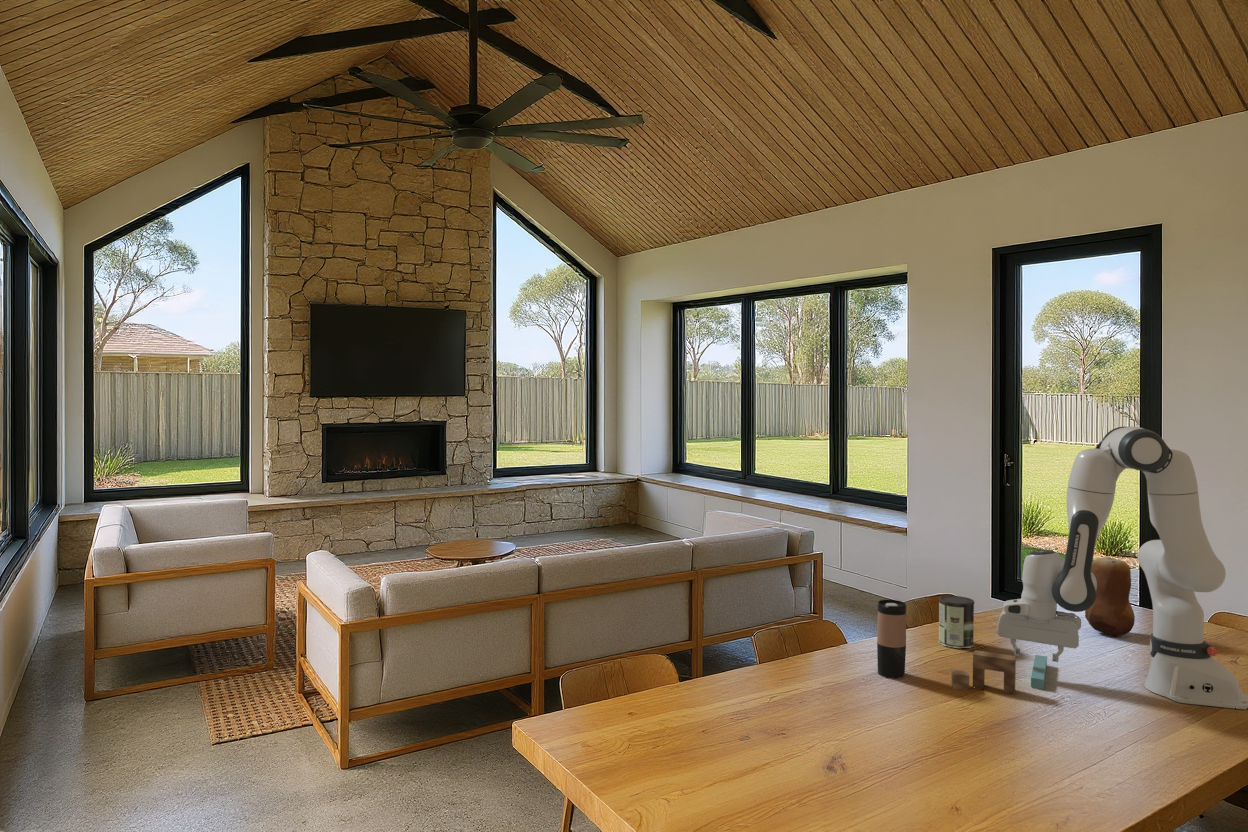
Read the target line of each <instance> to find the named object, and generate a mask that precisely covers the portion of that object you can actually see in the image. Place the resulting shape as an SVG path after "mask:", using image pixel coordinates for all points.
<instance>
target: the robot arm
mask: <svg viewBox="0 0 1248 832" xmlns="http://www.w3.org/2000/svg"><path fill="white" fill-rule="evenodd" d="M1127 469H1128V470H1129V469H1130V470H1135V471H1140V472H1142V473H1143V474H1144V476H1145V481H1146V489H1147V491H1146V492H1147V502H1148V512H1149V520H1150V523H1151V525H1152V527H1153V528H1154V529H1155V531H1156V533H1157V534H1158V537H1159V539H1151V540H1149V541H1146V542H1145V543H1143V544H1142V545H1141V546H1140V548H1139V549H1138V551H1137V556H1136V557H1137V563H1138V564H1139V566H1140V568H1141V569H1142V571H1143V573H1144V576H1145V579H1146V581H1147V582H1146V583H1147V587H1148V589H1149V594H1150V599H1151V603H1152V633H1151V634H1150V639H1149V654H1150V662H1149V669H1148V673H1147V676H1146V680H1145V681H1144V684H1143V686H1144V688H1146V689H1147V690H1148V691H1150V692H1152V693H1154V694H1157V695H1159V696H1161V697H1162V696H1163V697H1164V698H1168V699H1170V700H1171V701H1174V702H1176V703H1181V704H1190V705H1198V706H1209V707H1217V708H1226V709H1235V708H1236V709H1237V710H1248V709H1247V708H1248V695H1247V694H1246V693H1245V692H1243V691H1241V690H1240V686H1239V682H1238V678H1237V677H1236V675H1235V674H1234V673H1233V672H1232V671H1231V670H1230V669H1228V668H1227V667H1226V666H1225V665H1223V664H1222V663H1221V662H1220V661H1218V660H1217V659H1216V658H1215V657H1216V656H1217V655H1218V650H1217V649H1216V648H1215V647H1214V646H1213V645H1212V644H1210V643H1209V642H1208V641H1206V640H1204V632H1205V631H1204V630H1205V627H1204V625H1205V613H1204V610H1203V607H1202V606H1201V604H1200V603H1199V601H1198V599H1197V596H1196V594H1195V593H1211V592H1214V591H1216V590H1219V588H1220V587H1222V585H1223V584H1224V581H1225V579H1226V575H1227V573H1226V568H1225V566H1224V564H1223V562H1222V561H1221V560H1220V558H1218V556H1217V555H1216V553H1215V552H1214V550H1213V548H1212V546H1211V543H1210V541H1209V539H1208V535H1207V533H1206V530H1205V528H1204V525H1203V520H1202V515H1201V513H1202V512H1201V507H1200V498H1199V497H1200V495H1199V489H1198V488H1199V486H1198V481H1197V476H1196V472H1195V468H1194V464H1193V461H1192V459H1191V457H1190V456H1189V455H1188V454H1187V453H1186V452H1184V451H1181V450H1180V449H1174V448H1173V449H1171V448H1170V447H1169V446H1168V445H1167V444H1166V442H1165V440H1164V439H1163V438H1162V437H1161V436H1160V435H1159V434H1158V433H1156V432H1155V431H1153V430H1150V429H1146V428H1144V427H1140V426H1118V427H1115V428H1113V429H1111V430H1109V431H1108V432H1107V433H1106V434H1105V435H1104V437H1103V438H1102V439H1101V441H1100V442H1099V443H1098V444H1097V445H1096V446H1095V448H1087V449H1083V450H1081V451H1080V452H1078V453H1077V455H1076V456H1075V458H1074V461H1073V464H1072V468H1071V470H1070V474H1069V478H1068V483H1067V489H1066V490H1067V491H1066V514H1067V523H1068V538H1067V545H1066V550H1065V557H1062V556H1061V555H1060V554H1058V553H1057V551H1055V550H1049V549H1040V550H1033V551H1031V552H1029V553H1028V554H1026V555H1025V557H1024V562H1023V567H1022V573H1021V574H1022V575H1021V579H1022V580H1021V581H1022V586H1023V587H1022V592H1021V595H1020V597H1021V598H1017V599H1016V598H1015V599H1009V600H1005V601H1004V603H1003V606H1002V608H1003V610H1002V611H1001V613H1000V615H999V618H998V623H997V629H996V633H997V635H998V636H999V638H1007V639H1010V644H1011V646H1012V648H1013V656H1021V648H1020V647H1018V646H1017V640H1018V641H1024V642H1025V641H1026V642H1030V643H1037V644H1044V645H1049V646H1056V647H1057V652H1056V653H1052V657H1051V659H1052V662H1056V663H1059V657H1060V655H1062V653H1063V652H1064V651H1065V650H1064V648H1069V649H1075V650H1076V649H1077V648H1078V647H1079V645H1080V639H1079V637H1080V636H1079V630H1080V629H1081V628H1082V619H1081V617H1080V616H1078V615H1077V614H1076V613H1081V612H1085V610H1087V609H1089V608H1090V607H1091V606H1092V605H1093V604H1094V602H1095V599H1096V590H1097V579H1096V577H1095V575H1094V574H1093V573H1092V572H1091V569H1092V562H1093V561H1094V556H1095V551H1096V550H1095V549H1096V544H1097V540H1098V538H1099V535H1100V532H1101V531H1102V529H1103V527H1104V525H1105V524H1106V522H1107V520H1108V518H1109V516H1110V513H1111V510H1112V507H1113V504H1114V500H1115V495H1116V487H1117V481H1118V479H1119V477H1120V475H1121V474H1122V472H1123V471H1125V470H1127ZM1058 606H1059V607H1060V608H1062V609H1064V610H1066V611H1069V612H1065V611H1059V610H1057V608H1058ZM1073 612H1074V613H1073Z"/></svg>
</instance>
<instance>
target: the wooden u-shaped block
mask: <svg viewBox="0 0 1248 832" xmlns="http://www.w3.org/2000/svg"><path fill="white" fill-rule="evenodd" d="M1016 659H1017V655H1010V654H1003V653H996V652H992V651H991V652H989V651H982V650H977V649H975V650H974V651H973V654H972V688H973V687H975V688H974V689H977V688H979V689H978V690H984V687H985V675H986V674H985V670H986V671H987V670H988V671H994V672H1001V673H1003V694H1007V693H1009V694H1008V695H1012V694H1014V695H1015V693H1016V674H1017V673H1016V672H1017V671H1016V667H1017V666H1016V663H1017V660H1016Z"/></svg>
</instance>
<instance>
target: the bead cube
mask: <svg viewBox="0 0 1248 832" xmlns="http://www.w3.org/2000/svg"><path fill="white" fill-rule="evenodd" d="M969 674H970V673H969V671H968V670H963V669H950V685H951V687H953V688H952V690H958V689H966V690H965V691H970V675H969Z"/></svg>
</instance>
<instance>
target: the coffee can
mask: <svg viewBox="0 0 1248 832" xmlns="http://www.w3.org/2000/svg"><path fill="white" fill-rule="evenodd" d="M938 601H939V602H938V605H939V606H938V644H939V643H940V644H939V645H941V644H942V645H941V646H943V645H944V646H943V647H945V646H948V647H953V648H952V649H954V648H970V649H972V648H971V647H973V646H975V645H974V641H975V640H974V624H975V623H974V622H975V621H974V620H975V619H974V618H975V617H974V615H975V600H974V599H972V598H970V597H965V596H959V595H944V596H943V595H942V596H940V597H939V598H938ZM948 647H947V648H948ZM973 648H974V647H973Z"/></svg>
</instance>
